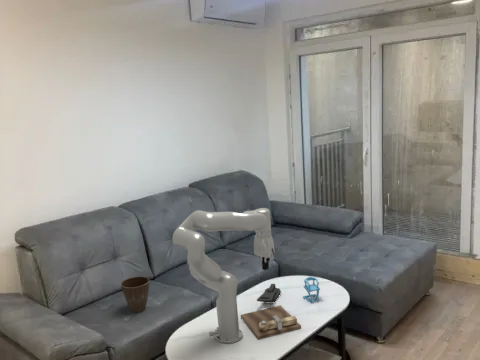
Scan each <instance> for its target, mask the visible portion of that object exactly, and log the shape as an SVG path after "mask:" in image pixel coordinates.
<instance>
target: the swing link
mask: <svg viewBox="0 0 480 360" xmlns="http://www.w3.org/2000/svg"><path fill="white" fill-rule="evenodd" d="M291 316H292V317H287V318H282V319H280V320H281V321H282V327H283V326H288V325H293V324H297V322H298V318H297V317H296V316H295V315H291ZM273 328H277V324H276V321H275V320H272V321H267V322H266V324H261V322H260V323H259V329H260V330H261V331H267V330H268V329H273Z"/></svg>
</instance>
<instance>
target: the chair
mask: <svg viewBox="0 0 480 360" xmlns="http://www.w3.org/2000/svg"><path fill="white" fill-rule="evenodd" d="M310 281H312V284H310V283H309V282H310ZM315 281H316V284H315ZM303 282H304V286H303V288H304V289H305V290H306V292H307V294H308V295H303V296H302V299H303V298H304V299H303V300H305V299H306V301H307V302H310V303H311V304H315V302H316V303H319V295H320V291H321V288H320V287H319V284H320V282H319V279H318V278H317V277H313V276H309V277H306V278H304V279H303ZM312 292H316V293H312ZM311 293H312V294H311ZM313 297H315V301H314V299H313Z"/></svg>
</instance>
